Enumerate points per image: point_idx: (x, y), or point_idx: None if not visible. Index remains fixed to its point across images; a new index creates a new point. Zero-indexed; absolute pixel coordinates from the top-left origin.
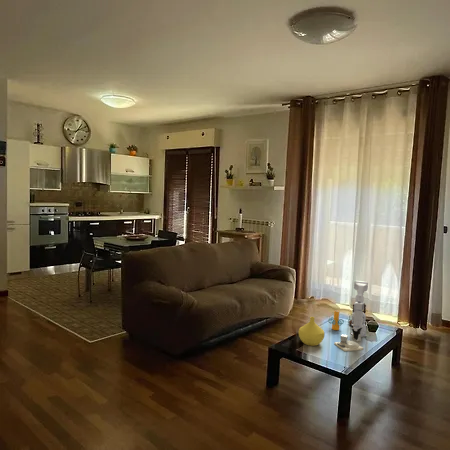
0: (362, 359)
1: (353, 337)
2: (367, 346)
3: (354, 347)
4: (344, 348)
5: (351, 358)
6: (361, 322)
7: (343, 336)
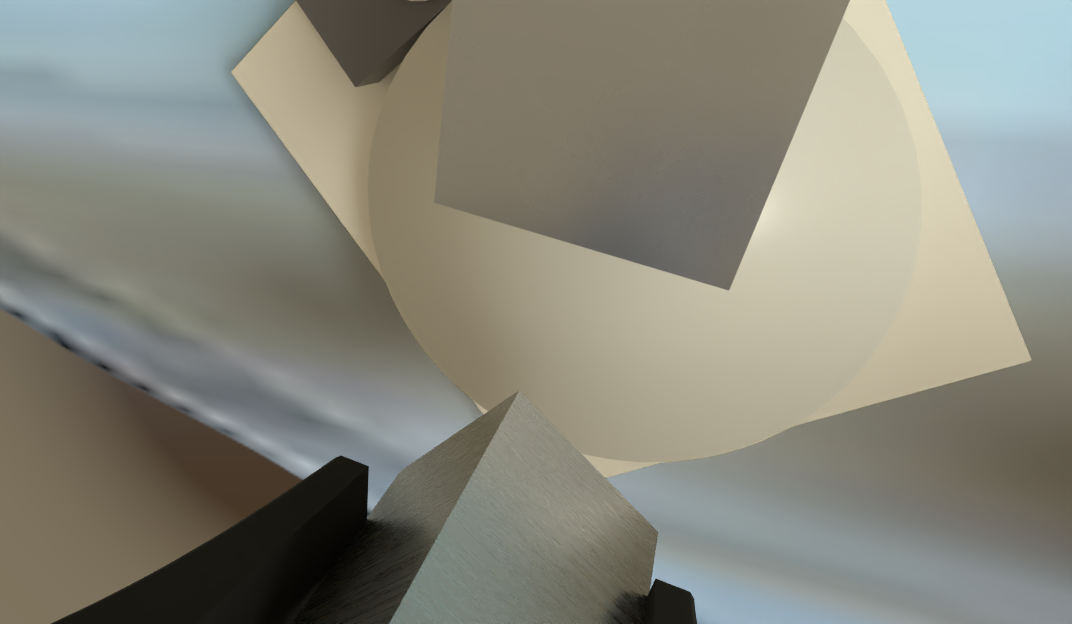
0: (139, 357)
1: (450, 474)
2: (766, 586)
3: (420, 328)
4: (288, 65)
5: (47, 191)
6: None
7: (453, 21)
